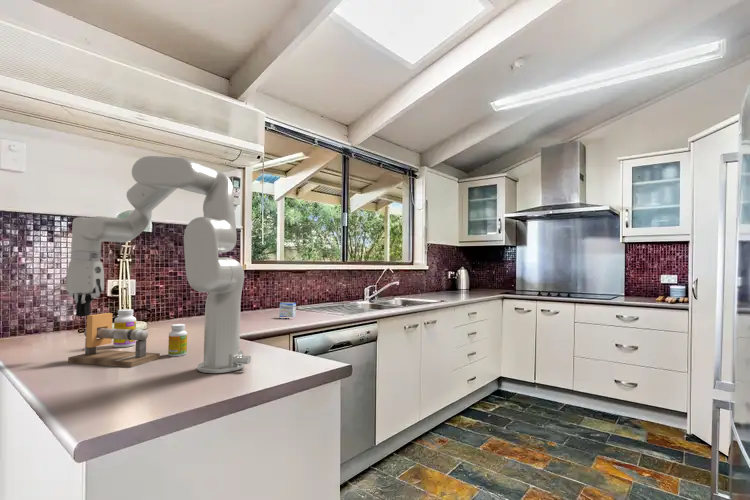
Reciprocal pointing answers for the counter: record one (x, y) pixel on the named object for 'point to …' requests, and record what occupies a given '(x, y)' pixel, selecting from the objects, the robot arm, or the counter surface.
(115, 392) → the counter surface
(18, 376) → the counter surface
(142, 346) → the pipe stand
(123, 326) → the supplement bottle
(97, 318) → the rubber collar
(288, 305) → the medicine box
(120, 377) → the counter surface
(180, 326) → the supplement bottle
